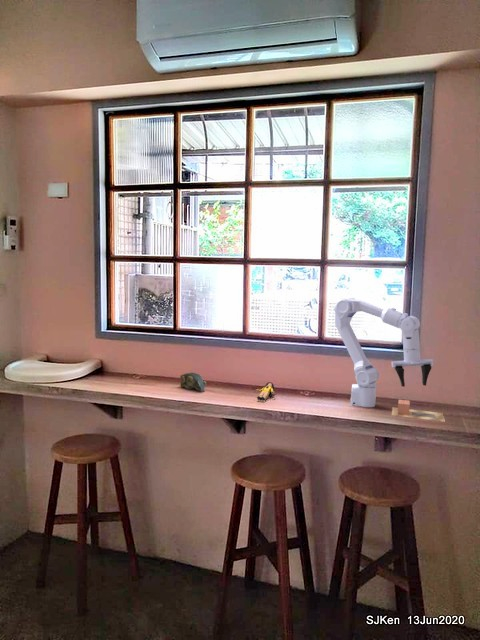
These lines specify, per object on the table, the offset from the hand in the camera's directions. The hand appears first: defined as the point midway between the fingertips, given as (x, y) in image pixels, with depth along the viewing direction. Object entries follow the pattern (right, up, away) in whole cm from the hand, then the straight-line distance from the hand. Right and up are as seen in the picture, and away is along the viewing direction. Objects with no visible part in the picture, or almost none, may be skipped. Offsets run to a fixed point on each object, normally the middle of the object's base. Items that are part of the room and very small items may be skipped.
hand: (413, 385), depth 173 cm
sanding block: (-3, -10, +2) cm, 11 cm away
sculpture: (-85, -6, +32) cm, 91 cm away
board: (+2, -12, +1) cm, 12 cm away
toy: (-53, -8, +22) cm, 58 cm away
